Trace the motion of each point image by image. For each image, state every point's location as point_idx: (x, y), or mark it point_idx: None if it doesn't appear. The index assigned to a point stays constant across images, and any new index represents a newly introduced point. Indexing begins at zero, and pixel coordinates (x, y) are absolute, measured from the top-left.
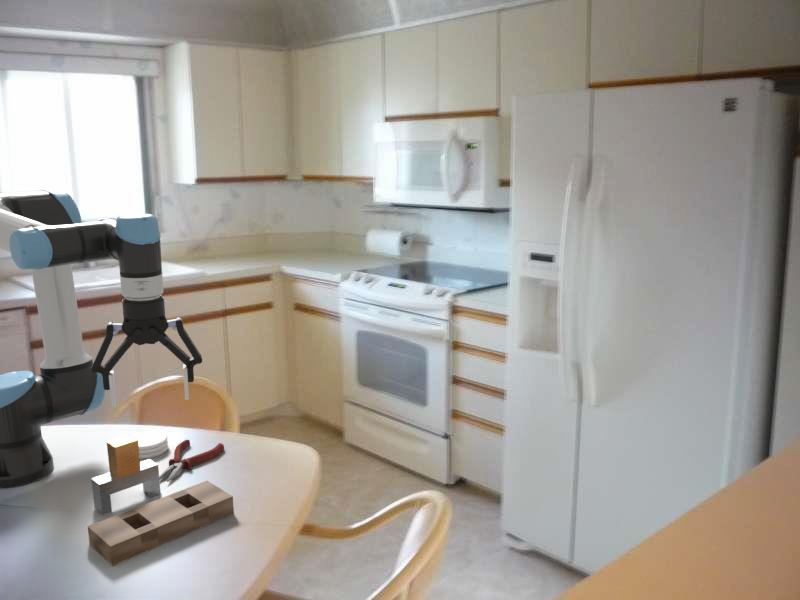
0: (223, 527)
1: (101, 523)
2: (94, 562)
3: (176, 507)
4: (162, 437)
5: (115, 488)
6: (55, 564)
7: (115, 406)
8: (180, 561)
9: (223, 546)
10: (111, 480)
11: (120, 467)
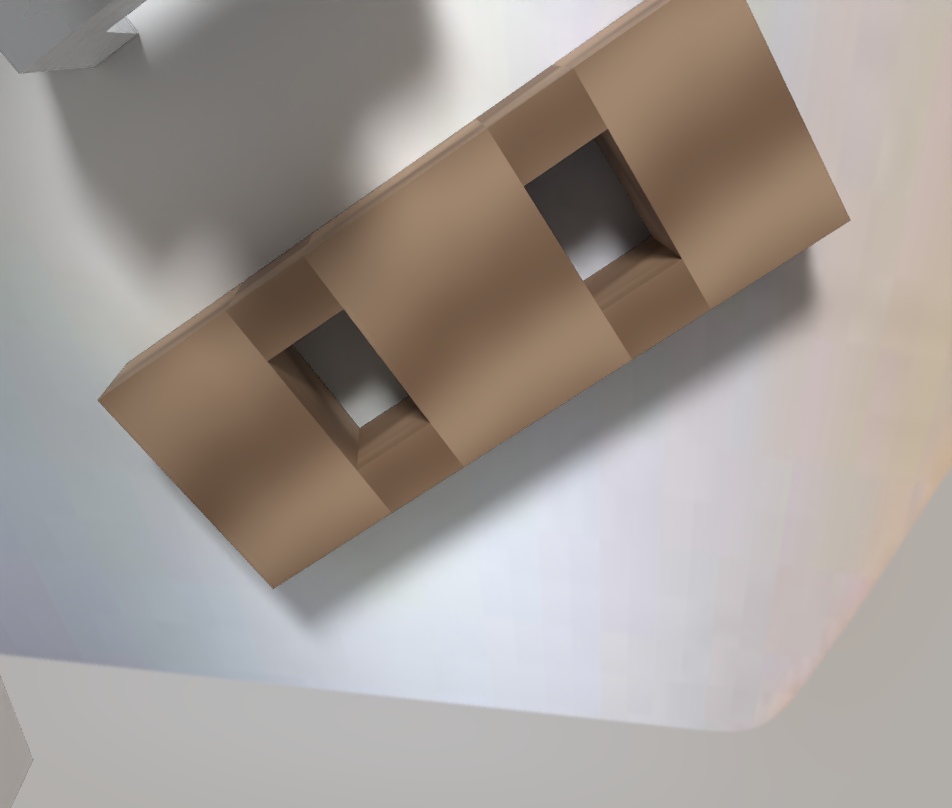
0: (739, 320)
1: (165, 384)
2: None
3: (544, 286)
4: None
5: (128, 7)
6: (27, 490)
7: (26, 764)
8: (554, 544)
9: (725, 470)
10: (89, 17)
11: None
